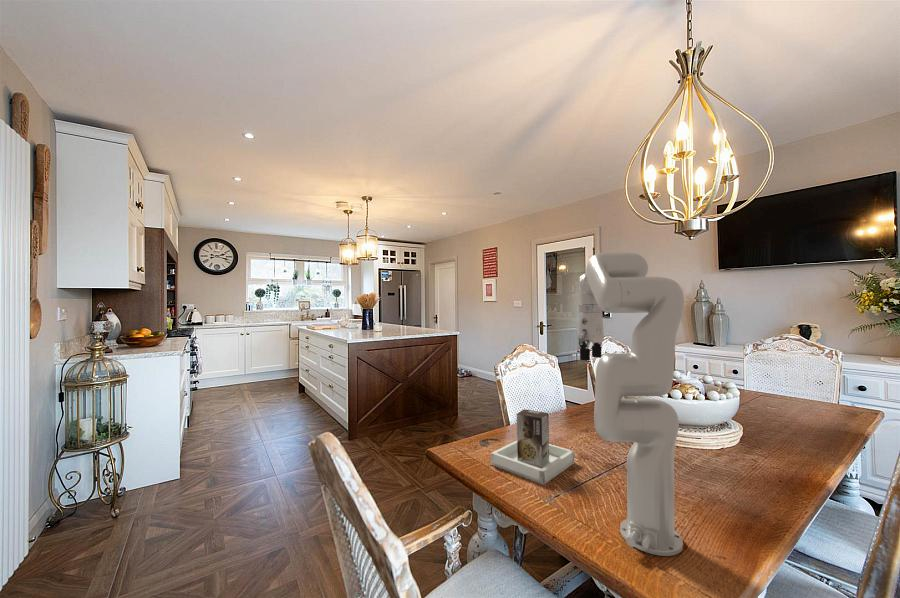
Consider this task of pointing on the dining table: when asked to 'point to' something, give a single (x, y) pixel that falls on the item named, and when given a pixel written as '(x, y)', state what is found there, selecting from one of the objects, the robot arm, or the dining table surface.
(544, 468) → the tray
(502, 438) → the dining table surface
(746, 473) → the dining table surface
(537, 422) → the coffee box
